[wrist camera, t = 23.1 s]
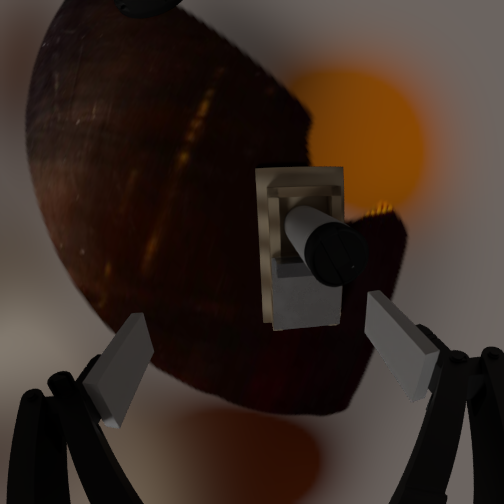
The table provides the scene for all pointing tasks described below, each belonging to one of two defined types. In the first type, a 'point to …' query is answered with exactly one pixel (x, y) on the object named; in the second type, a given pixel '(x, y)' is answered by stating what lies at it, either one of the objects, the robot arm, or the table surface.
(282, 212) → the holder
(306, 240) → the travel mug
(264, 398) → the table surface
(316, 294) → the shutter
